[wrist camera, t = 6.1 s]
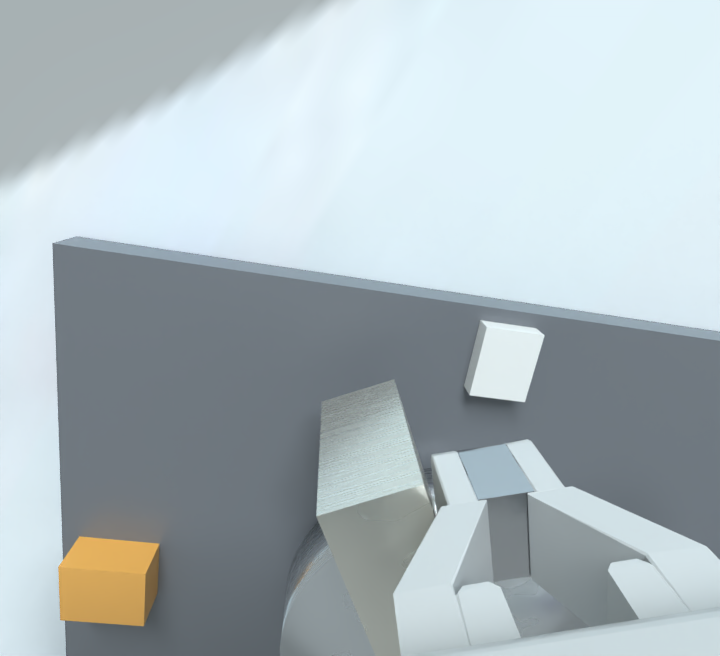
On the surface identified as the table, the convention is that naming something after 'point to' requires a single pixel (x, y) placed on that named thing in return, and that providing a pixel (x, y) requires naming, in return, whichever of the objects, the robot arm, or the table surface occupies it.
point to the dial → (375, 537)
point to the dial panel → (303, 424)
